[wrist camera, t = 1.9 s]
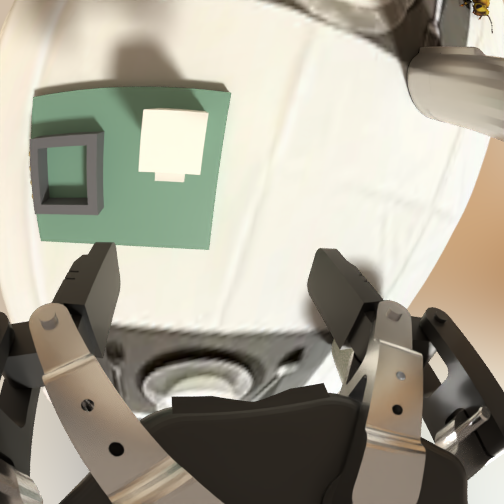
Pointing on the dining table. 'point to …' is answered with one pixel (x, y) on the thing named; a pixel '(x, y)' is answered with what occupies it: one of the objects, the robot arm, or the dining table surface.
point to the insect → (480, 7)
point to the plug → (172, 142)
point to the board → (119, 169)
